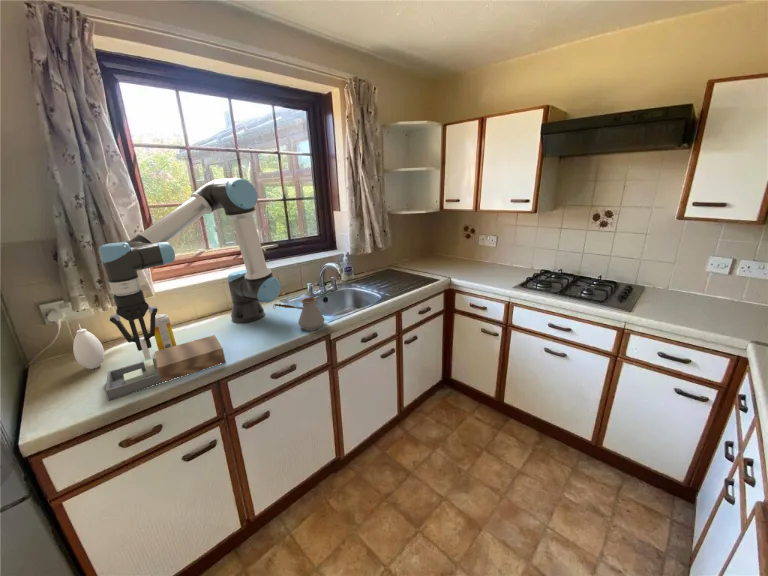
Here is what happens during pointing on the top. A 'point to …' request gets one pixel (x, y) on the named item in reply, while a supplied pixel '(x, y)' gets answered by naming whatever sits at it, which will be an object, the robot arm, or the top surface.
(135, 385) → the box
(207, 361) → the walnut board
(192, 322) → the top surface
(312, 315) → the coffee pot
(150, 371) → the rear tile
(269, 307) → the top surface
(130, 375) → the front tile
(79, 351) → the air blower bulb
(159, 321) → the beer can
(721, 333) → the top surface
